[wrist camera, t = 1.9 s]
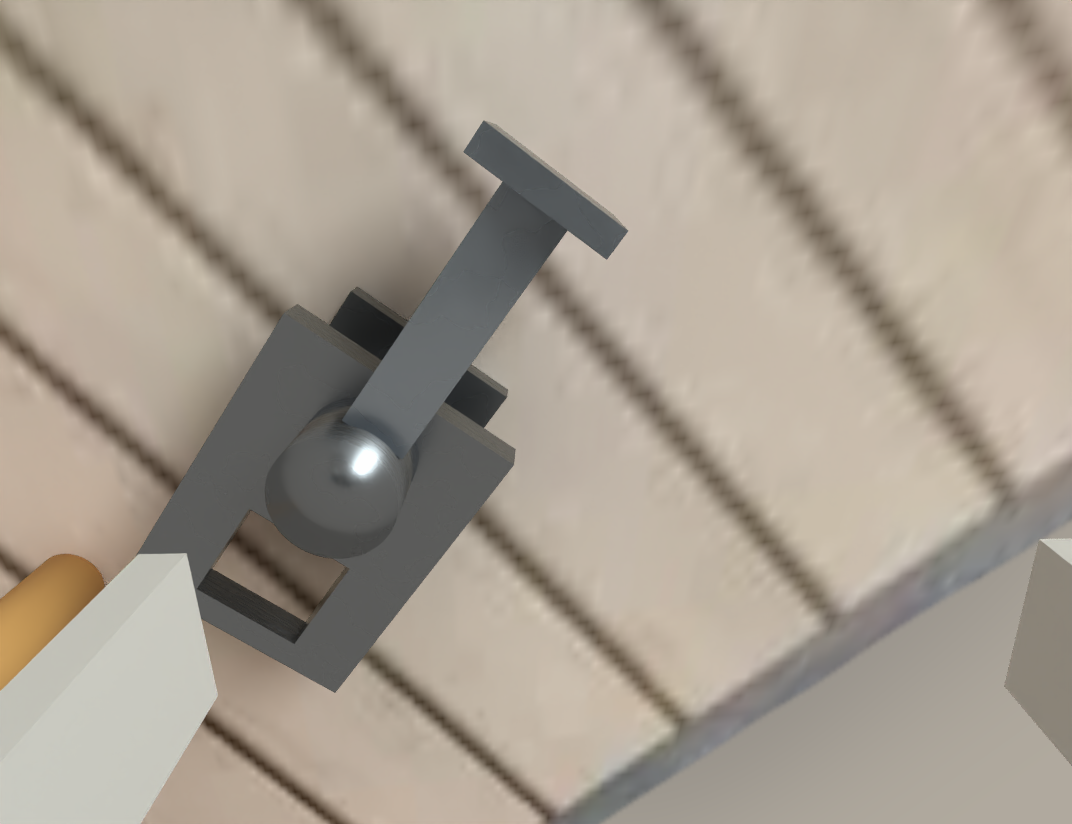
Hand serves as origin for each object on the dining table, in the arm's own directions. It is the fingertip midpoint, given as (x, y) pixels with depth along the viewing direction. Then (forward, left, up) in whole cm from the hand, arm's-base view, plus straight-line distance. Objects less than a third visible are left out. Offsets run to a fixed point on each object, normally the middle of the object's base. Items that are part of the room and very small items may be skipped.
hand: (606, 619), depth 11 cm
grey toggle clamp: (-4, -7, -22) cm, 23 cm away
